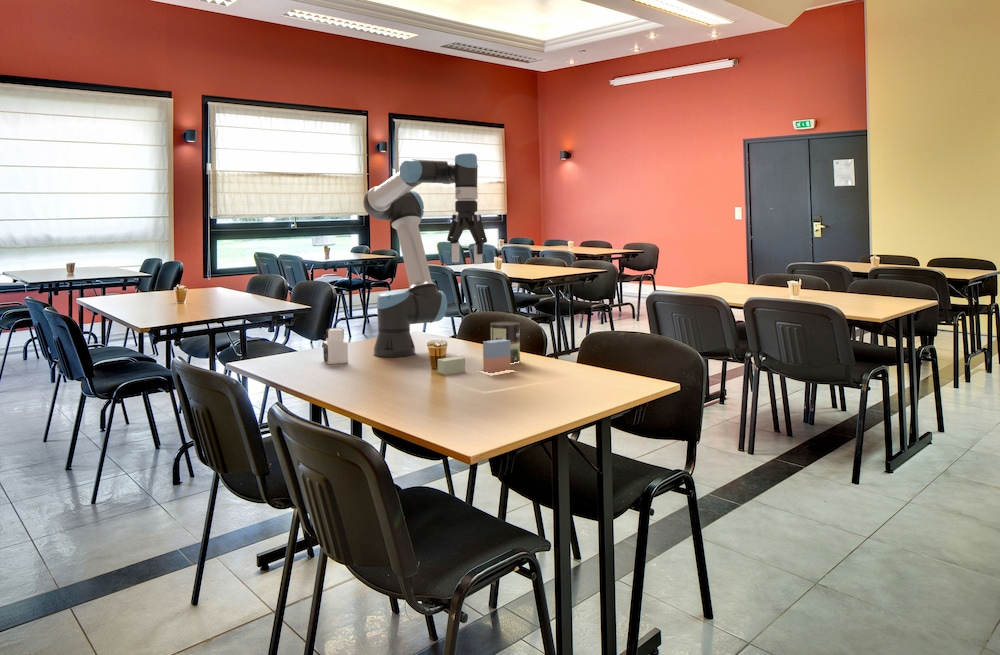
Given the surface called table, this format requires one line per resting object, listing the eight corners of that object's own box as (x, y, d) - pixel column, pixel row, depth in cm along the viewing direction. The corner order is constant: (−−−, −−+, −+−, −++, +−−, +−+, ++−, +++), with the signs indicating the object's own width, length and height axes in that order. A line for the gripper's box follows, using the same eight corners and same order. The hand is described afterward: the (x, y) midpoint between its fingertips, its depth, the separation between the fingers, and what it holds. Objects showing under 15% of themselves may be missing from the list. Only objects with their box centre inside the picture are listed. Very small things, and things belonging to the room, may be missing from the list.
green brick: (444, 376, 234) (444, 361, 233) (437, 374, 237) (437, 359, 236) (465, 373, 239) (464, 358, 238) (458, 371, 242) (458, 356, 241)
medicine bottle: (323, 361, 259) (322, 327, 258) (343, 359, 262) (342, 326, 261) (327, 364, 253) (326, 330, 251) (348, 362, 256) (347, 328, 254)
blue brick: (490, 358, 234) (490, 343, 233) (483, 356, 237) (483, 341, 236) (510, 355, 238) (510, 340, 238) (503, 354, 242) (503, 339, 241)
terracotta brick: (490, 374, 234) (490, 358, 234) (483, 372, 238) (483, 356, 237) (510, 370, 239) (510, 355, 238) (502, 368, 242) (502, 354, 242)
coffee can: (520, 360, 259) (520, 321, 257) (520, 366, 249) (520, 325, 247) (490, 360, 260) (490, 321, 257) (489, 366, 249) (489, 325, 247)
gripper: (436, 200, 256) (437, 261, 259) (478, 199, 236) (479, 265, 239) (454, 200, 260) (455, 260, 264) (497, 199, 241) (497, 264, 244)
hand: (466, 263), depth 252 cm, fingers open, 13 cm apart
